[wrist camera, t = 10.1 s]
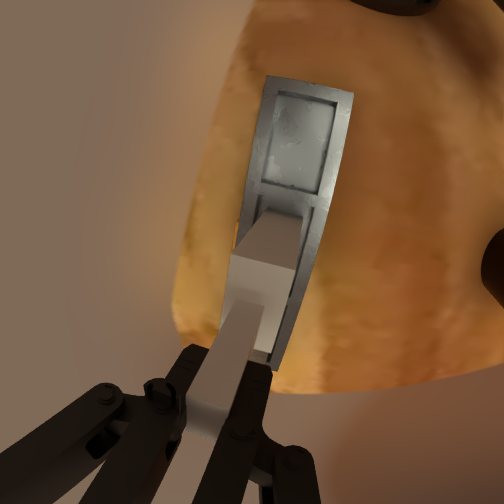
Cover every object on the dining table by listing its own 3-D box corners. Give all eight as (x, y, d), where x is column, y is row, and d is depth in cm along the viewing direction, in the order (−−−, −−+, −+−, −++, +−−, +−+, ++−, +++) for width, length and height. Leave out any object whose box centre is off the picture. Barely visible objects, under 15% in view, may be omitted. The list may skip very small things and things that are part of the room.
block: (266, 208, 25) (230, 253, 14) (303, 217, 25) (295, 270, 14) (255, 265, 28) (217, 338, 17) (288, 273, 27) (270, 353, 16)
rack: (267, 81, 22) (229, 27, 10) (349, 99, 21) (383, 53, 9) (221, 341, 33) (183, 417, 22) (280, 357, 32) (261, 441, 21)
